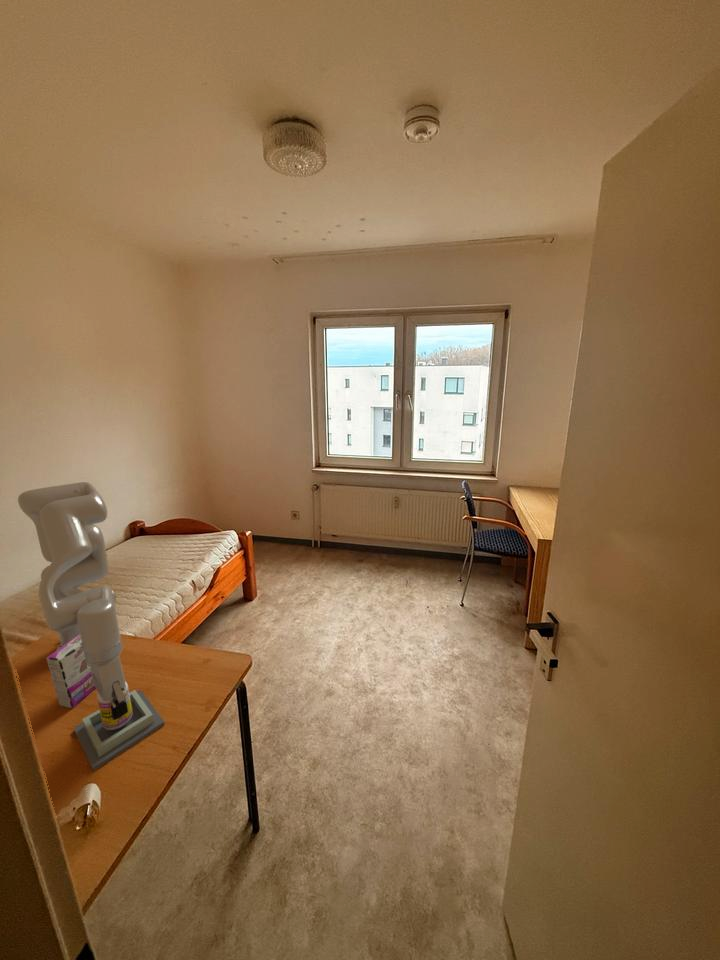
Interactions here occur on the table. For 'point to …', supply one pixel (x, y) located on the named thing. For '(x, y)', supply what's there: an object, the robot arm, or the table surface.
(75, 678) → the candy bar box
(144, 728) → the tray
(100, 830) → the table surface
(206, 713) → the table surface
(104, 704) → the supplement bottle
